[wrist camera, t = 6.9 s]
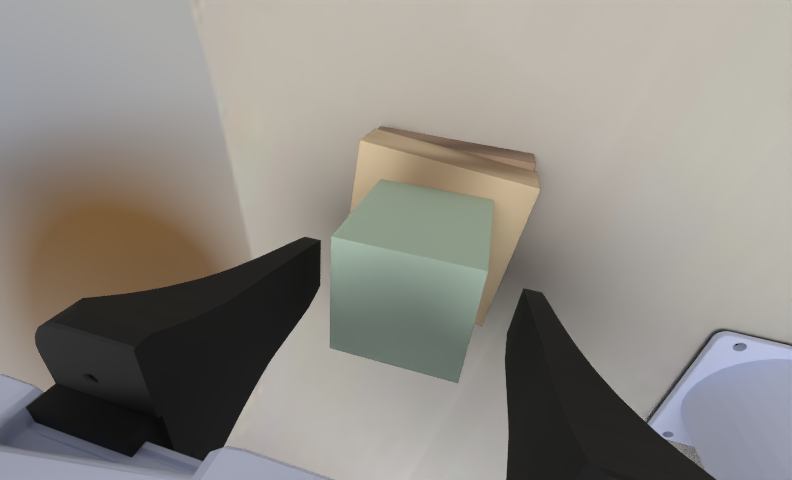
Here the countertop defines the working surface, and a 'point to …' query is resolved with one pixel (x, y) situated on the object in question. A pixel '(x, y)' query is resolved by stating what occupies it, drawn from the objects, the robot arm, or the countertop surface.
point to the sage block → (410, 277)
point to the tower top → (454, 189)
